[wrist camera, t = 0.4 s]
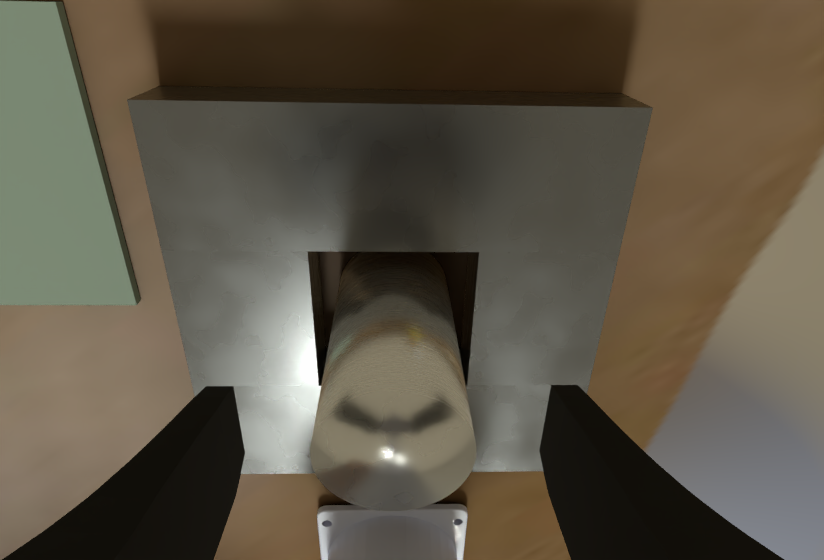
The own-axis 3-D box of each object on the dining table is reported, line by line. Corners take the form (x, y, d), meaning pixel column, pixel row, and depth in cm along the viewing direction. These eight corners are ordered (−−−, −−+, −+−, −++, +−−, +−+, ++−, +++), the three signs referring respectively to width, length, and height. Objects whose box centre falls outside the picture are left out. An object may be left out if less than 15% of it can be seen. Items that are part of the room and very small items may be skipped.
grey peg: (444, 334, 24) (470, 510, 16) (342, 334, 23) (315, 512, 15) (450, 241, 21) (483, 391, 13) (337, 240, 21) (303, 391, 13)
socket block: (554, 430, 26) (569, 471, 24) (228, 432, 26) (212, 474, 24) (622, 93, 19) (652, 107, 17) (159, 86, 18) (127, 99, 16)
